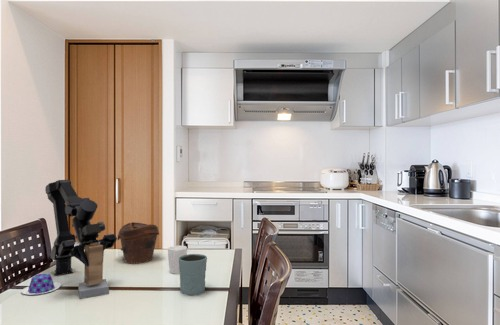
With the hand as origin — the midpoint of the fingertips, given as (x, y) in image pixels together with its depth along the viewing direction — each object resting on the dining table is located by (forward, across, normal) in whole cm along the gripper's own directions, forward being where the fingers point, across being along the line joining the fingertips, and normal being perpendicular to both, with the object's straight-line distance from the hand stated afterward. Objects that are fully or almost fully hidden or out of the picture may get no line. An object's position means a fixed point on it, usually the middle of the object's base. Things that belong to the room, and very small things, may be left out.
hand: (95, 264), depth 115 cm
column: (+4, 0, +6) cm, 7 cm away
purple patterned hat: (-5, -12, +20) cm, 24 cm away
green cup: (+23, +25, -9) cm, 35 cm away
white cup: (+8, +34, +7) cm, 35 cm away
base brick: (+6, 0, +8) cm, 10 cm away
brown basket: (-12, +31, +27) cm, 43 cm away
